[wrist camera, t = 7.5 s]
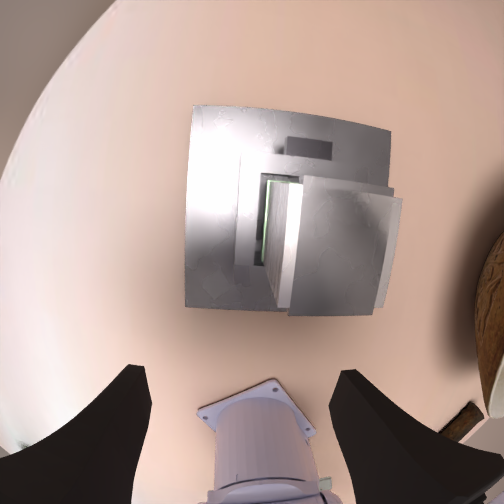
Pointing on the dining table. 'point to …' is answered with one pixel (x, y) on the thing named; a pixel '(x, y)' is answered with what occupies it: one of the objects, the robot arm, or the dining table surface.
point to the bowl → (491, 329)
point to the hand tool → (463, 423)
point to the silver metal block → (329, 245)
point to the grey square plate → (258, 190)
